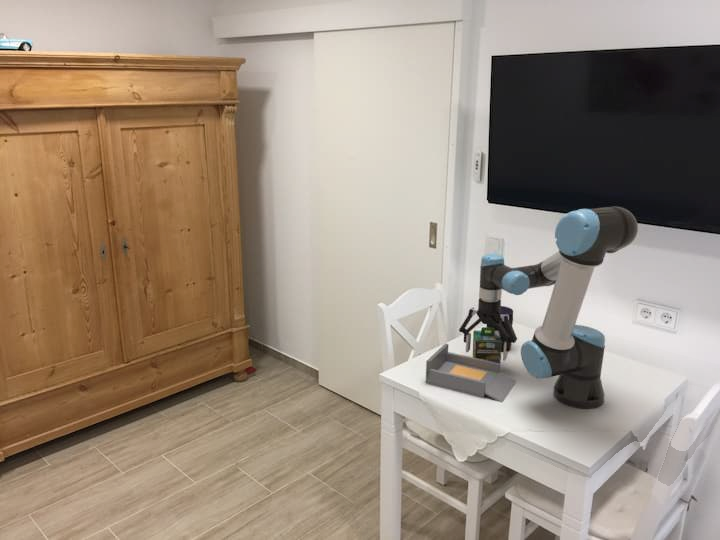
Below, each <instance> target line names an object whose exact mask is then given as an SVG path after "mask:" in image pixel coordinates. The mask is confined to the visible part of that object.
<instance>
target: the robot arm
mask: <svg viewBox="0 0 720 540" xmlns="http://www.w3.org/2000/svg"><path fill="white" fill-rule="evenodd" d="M638 225H639V224H638V221H637V219H636V217H635V216H634V214H633V213H632V212H631V211H630V210H628V209H627V208H624V207H622V206H621V207H620V206H607V207H597V208H580V209H577V210H572V211H570V212H567V213H565V214H564V215H563V216H562V217H561V218H560V219H559V220H558V222H557V224H556V227H555V230H554V231H555V232H554V238H555V239H556V241H555V244H556V247H557V249H558V251H556V252H555V253H553V254H552V255H550V256H548V257H547V258H545V259H544V260H542V261H541V262H539V263H536V264H532V265H525V266H518V267H517V266H516V267H510V266H507V265H506V264H505V258H504V256H503V255H501V254H498V253H486V254H484V255H482V256H481V263H480V274H479V288H478V290H479V292H478V304H477V305H478V308H477V309H475V307H471V308H470V309H469V310H468V315H466V318H465V319H464V321H463V323H462V324H461V326H460V328H459V329H458V331H459V332H460V333H462V334H463V343H465V353H469V351H471V343H472V342H471V341H472V333H471V331H472V330H473V329H474V328H475V327H476V326H478V325H479V324H480V323H482V324H483V325H487V324H488V325H494V326H495V328H497V329H498V331H499V332H500V334H501V335H502V337H503V338H504V339H505V341H506V342H505V343H504V352H502V353H503V355H502V361H504V362H506V360H507V359H508V356H509V355H508V353H509V352H510V351H511V349H512V344H515V343H516V341H517V340H518V337H517V334H516V332H515V330H514V327H513V324H512V325H511V322H510V318H509V314H506V315H502V314H501V313H500V308H501V306H502V300H501V299H502V293H503V292H502V291H505V292H506V293H508V294H512V295H515V296H521V295H523V294H524V293H526V292H527V291H528V290H529V289H535V288H543V287H550V286H553V289H552V292H551V296H550V298H549V301H548V305H547V309H546V312H545V315H544V319H543V321H542V325H540V326H538V327H536V328H535V331H534V334H533V337H532V339H531V340H527V341H525V342H524V343H522V345H521V348H520V358H521V361H522V364H523V366H524V368H525V370H526V371H527V373H529V375H530V376H532V377H533V378H535V379H538V380H542V379H550V378H554V377H557V376H558V377H557V379H556V380H555V383H554V385H553V393H552V394H553V397H554V398H555V399H557V401H558V402H560V403H562V404H564V405H567V406H570V407H573V408H578V409H594V408H597V407H600V406H602V405H603V404H604V400H605V391H604V387H603V382H602V378H601V375H602V369H603V368H602V367H603V360H604V354H605V348H606V345H605V344H606V343H605V342H606V337H605V335H604V334H603V332H601V331H600V330H599V329H596V328H593V327H590V326H586V325H582V324H577V320H578V317H579V314H580V311H581V309H582V306H583V302H584V299H585V296H586V294H587V292H588V287H589V286H590V285H589V284H590V282H591V278H592V276H593V273H594V270H595V268H596V267H599V266H601V265H602V264H603V263H604V259H605V257H606V254H615V253H616V252H618V251H620V250H622V249H624V248H627V247H628V246H629V245H632V243H633V242H634V241H635V239H636V237H637V235H638V233H639V232H638V231H639V230H638V229H639V226H638ZM475 315H477V317H478V319H477V320H476V321H474V322H473V323H472V324H471V325H470V326H469V327H468V328H466V327H467V325H468V324H469V322H470V321H471V320H472V318H473V317H474V316H475ZM500 318H502V320H503V321H504V324H505V326H506V329H507V331H508V333H509V334H508V333H507V332H506V330H505V329H504V327H503V326H502V324H501V322H500V320H499V319H500Z"/></svg>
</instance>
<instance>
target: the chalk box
mask: <svg viewBox="0 0 720 540" xmlns="http://www.w3.org/2000/svg"><path fill="white" fill-rule="evenodd" d="M472 337H473V339H472V357H473V358H478V359H482V360H487V361H492V362H496V363H500V364H501V358H502V352H501V345H502V340H501V337H500V334H499V331H495V328H493V327H485V326H484V327H483V326H482V327H481V330H473V335H472Z"/></svg>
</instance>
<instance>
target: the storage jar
mask: <svg viewBox="0 0 720 540" xmlns="http://www.w3.org/2000/svg"><path fill="white" fill-rule="evenodd" d="M500 313H501V314H502V315H506V314H509V318H510V322H511V325H512V326H513V324H514V322H513V321H514V309H513V308H511V307H508V306H504V305H501V308H500ZM499 320H500V322H501V324H502V326H503V327H504V329H505V330H506V332H507V333H508V331H507V329H506V326H505V324H504V321H503V320H502V318H500V319H499ZM486 327H493V328H495V326H494V325H488V324H486ZM495 331H498V329H497V328H495ZM499 334H500V332H499ZM508 334H509V333H508ZM500 337H501V340H502V345H501V353H503V352H504V343H505V342H506V341H505V339H504V338H503V337H502V335H501V334H500Z"/></svg>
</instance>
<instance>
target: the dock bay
mask: <svg viewBox="0 0 720 540" xmlns="http://www.w3.org/2000/svg"><path fill="white" fill-rule="evenodd" d="M425 364H426V365H425V367H426V369H425V384H428V383H429V384H428V385H432V384H433V386H436V387H437V386H438V387H440V388H444V389H445V388H446V389H448V390H453V391H457V392H460V393H463V394H464V393H465V394H469V395H473V396H477V397H481V398H485V396H487V397H489V398H490V399H494V401H496V402H499V403H503V402H504V400H505V399H506V398H507V396H508V395H509V394H510V391H512V389H513V388H514V386H515V385H516V383H517V381H518V380H516V379H515V378H513V377H511V376H509V375H507V374H506V373H503V372H501V362H500V363H496V362H492V361H487V360H482V359H478V358H473V356H468V355H464V354H459V353H456V352H450V351H449V343H444V344H443V345H442V346H441V347H440V348H439V349H437V351H435V352H434V353H433V354H432V355H431V356H430V357H428V359H427V360H426V363H425Z"/></svg>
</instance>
